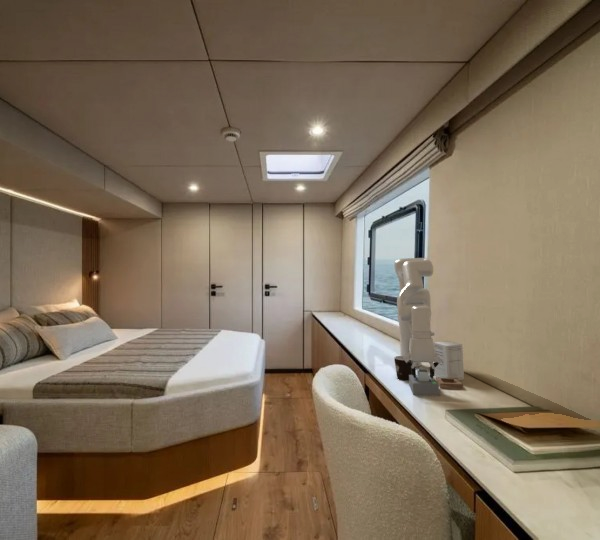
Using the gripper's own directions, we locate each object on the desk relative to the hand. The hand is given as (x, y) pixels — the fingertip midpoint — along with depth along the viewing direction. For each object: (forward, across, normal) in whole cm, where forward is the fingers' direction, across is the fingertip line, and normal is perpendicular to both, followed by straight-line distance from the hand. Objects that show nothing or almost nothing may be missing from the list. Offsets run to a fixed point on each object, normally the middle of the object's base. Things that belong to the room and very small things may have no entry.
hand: (422, 376), depth 136 cm
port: (+6, 0, 0) cm, 6 cm away
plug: (+5, 0, 0) cm, 5 cm away
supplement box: (+6, -15, -20) cm, 26 cm away
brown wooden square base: (+6, -12, -8) cm, 16 cm away
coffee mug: (+6, +6, -18) cm, 20 cm away
